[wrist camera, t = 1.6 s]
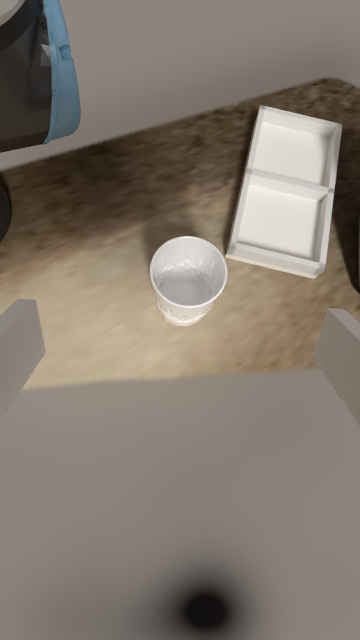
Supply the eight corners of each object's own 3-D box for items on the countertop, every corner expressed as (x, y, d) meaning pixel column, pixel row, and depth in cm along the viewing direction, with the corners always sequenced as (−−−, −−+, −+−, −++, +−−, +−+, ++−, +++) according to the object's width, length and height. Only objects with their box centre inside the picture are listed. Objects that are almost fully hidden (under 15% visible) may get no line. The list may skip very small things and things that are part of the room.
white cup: (180, 263, 43) (185, 221, 33) (224, 300, 42) (242, 268, 32) (140, 303, 41) (133, 272, 31) (185, 343, 40) (192, 323, 30)
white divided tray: (225, 257, 43) (229, 246, 40) (254, 122, 50) (260, 105, 47) (313, 278, 43) (324, 269, 40) (331, 140, 50) (342, 124, 47)
